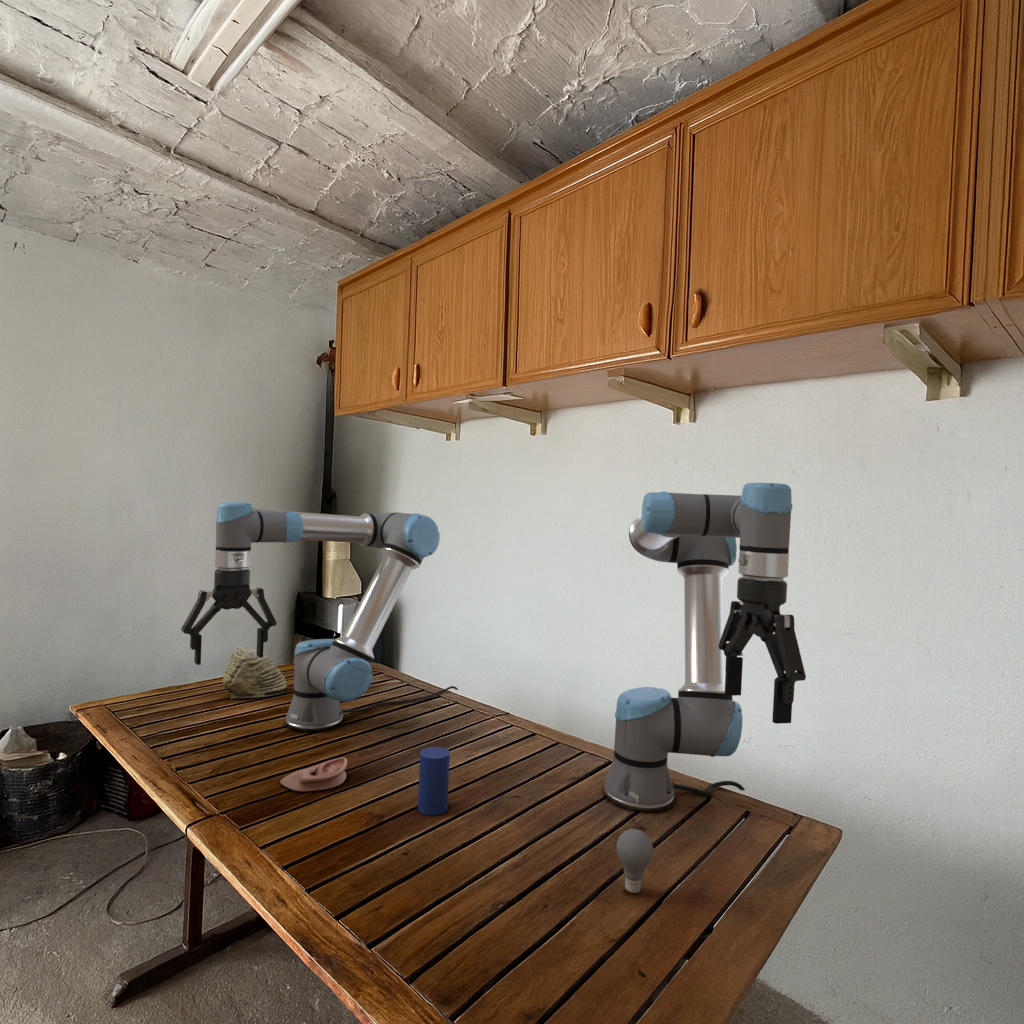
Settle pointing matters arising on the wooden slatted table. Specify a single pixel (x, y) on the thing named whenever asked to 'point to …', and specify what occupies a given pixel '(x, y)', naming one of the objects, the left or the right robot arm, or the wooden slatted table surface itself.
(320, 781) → the anatomical model
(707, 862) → the wooden slatted table surface
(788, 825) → the wooden slatted table surface
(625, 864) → the light bulb
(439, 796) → the canister
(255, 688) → the fossil
